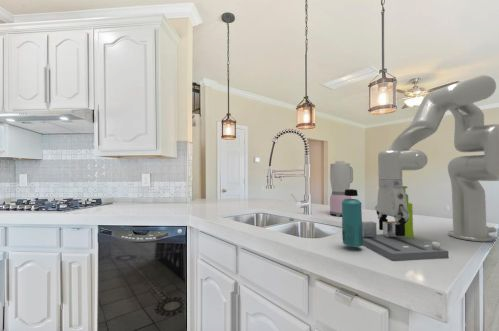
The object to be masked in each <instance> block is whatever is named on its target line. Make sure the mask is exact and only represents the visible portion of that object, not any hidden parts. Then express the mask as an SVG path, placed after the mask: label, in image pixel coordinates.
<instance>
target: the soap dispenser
mask: <svg viewBox="0 0 499 331" xmlns="http://www.w3.org/2000/svg"><path fill="white" fill-rule="evenodd" d="M403 189H404V191H405V195H406V201H407V211H408V212H409V213H410V217H409V219H408V221H407V222H406V224H405V236H407V237H410V238H413V239H414V218H413V212H414V211H413V203H411V202H409V194H407V192H406V189H408V186H407V185H406V186H405V185H403ZM398 219H399V220H400V218H398Z"/></svg>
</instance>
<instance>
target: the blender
mask: <svg viewBox="0 0 499 331" xmlns="http://www.w3.org/2000/svg"><path fill="white" fill-rule="evenodd" d="M329 173H330V174H329V176H330V177H329V180H330V185H331V186H330V187H331V194H330V196H329V214H330V216H332V215H335V216H336V217H338V218H340V217H341V216H342V201H343V200H344V199H353V198H352V196H345V190H347V189H351V188H350V187H351V184H352V183H353V182H354V169H353V168H352V166H351V164H350V163H348V162H346V163H345V161H344V160H343V161H342V160H340V161H339V160H338V161H337V160H335V162H334V163H330V166H329Z"/></svg>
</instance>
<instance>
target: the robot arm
mask: <svg viewBox="0 0 499 331" xmlns="http://www.w3.org/2000/svg"><path fill="white" fill-rule="evenodd" d="M496 89H497V83H496V81H495V78H493V77H491V76H489V75H485V74H484V75H479V76H475V77H472V78H468V79H466V80H463V81H460V82H455V83H452V84H449V85H447V86H444V87H441V88H438V89H435V90H433V91H430V92H428V93H427V94H426V95H425V96H424V97H423V99H422V101H421V103H420V105H419V107H418V109H417V112H416V113H415V116H414V118H413V119H412V121H411V123H410V124H409V125H408V126H407V127H406V128H405V129H404V130H403V131H402V132H401V133H400V134H399V135H398V136H397V137H396V138H395V139H394V141H392V143H391V145H390V147H389V149H388V150H382V151H379V152H378V155H377V166H378V167H377V168H378V169H377V171H378V172H377V174H378V191H377V200H376V201H377V204H376V206H375V207H374V210H375V212H376V214H377V219H378V229H379V231H383V222H388V217H389V216H390V217H392V218H394V221H396V223H397V224H395V235H396V236H405V224H406V222H407V221H408V219H409V217H410V213H409V212H408V211H407V201H406V195H405V191H406V190H405V191H404V189H403V186H404V185H403V171H418V170H422V169H423V168H424V167H426V165H427V164H428V156H427V154H426V153H425V152H423V151H422V150H420V149H419V150H418V149H412V147H414V146H415V145H416V144H418V143H420V142H421V141H423V140H426V139H427V138H429V137H431V136H432V135H434V134H435V133H436V132H437V131H438V130H439V127H440V125H441V122H442V120H443V118H444V116H445V114H446V112H448V111H450V113H451V114H452V115H453V118H454V136H453V138H454V140H453V145H454V148H455V150H456V151H458V152H459V153H478V152H479V153H481V152H483V154H476V155H474V154H473V155H463V156H462V155H461V156H457V157H454V158H452V159H451V160H450V161H449V162H448V164H447V171H448V176H449V178H450V185H451V202H452V203H451V204H452V210H451V211H452V230H449V231H448V232H447V234H448V236H450V237H452V238H456V239H460V240H465V241H470V242H486V243H487V242H488V243H489V242H492V241H493V240H494V239H493V238H494V237H493V236H492V235H489V234H490V233H496V232H497V231H498V230H497V228H496V227H494V226H492V227H491V226H490V227H489V226H487V208H486V207H487V206H486V204H487V202H486V192H485V189H484V187H483V185H482V184H481V183H480V182H482V181H483V182H497V181H499V123H494V124H486V125H485V114H484V112H483V110H482V109H481V108H480V107H479V106H477V105H476V104H475V103H478V102H480V101H483V100H487V99H489V98H490V97H491V96H493V95H494V93H495V92H496ZM398 218H400V220H399V219H398Z"/></svg>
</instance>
